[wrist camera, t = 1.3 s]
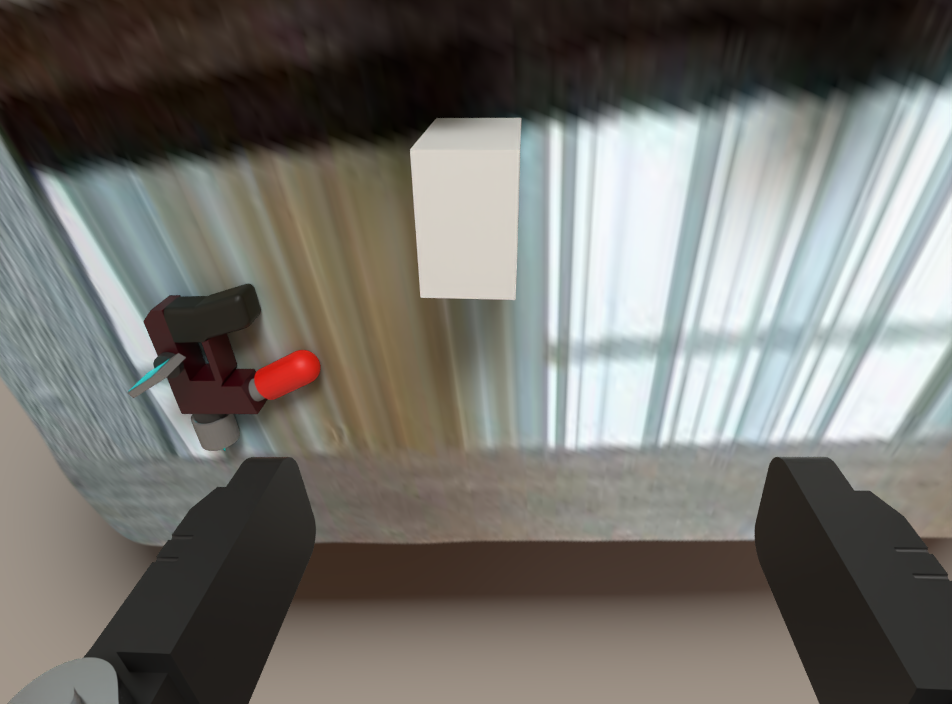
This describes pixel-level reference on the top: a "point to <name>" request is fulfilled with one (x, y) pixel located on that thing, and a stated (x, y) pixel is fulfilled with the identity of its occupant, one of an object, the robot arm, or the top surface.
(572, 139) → the top surface
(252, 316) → the toy gun
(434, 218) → the block
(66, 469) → the top surface
